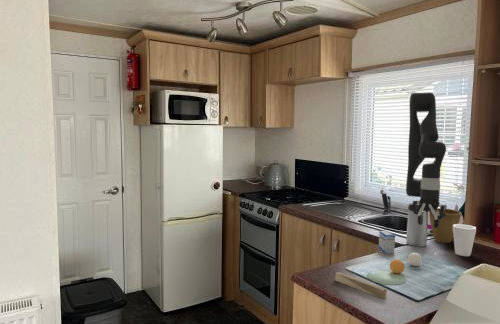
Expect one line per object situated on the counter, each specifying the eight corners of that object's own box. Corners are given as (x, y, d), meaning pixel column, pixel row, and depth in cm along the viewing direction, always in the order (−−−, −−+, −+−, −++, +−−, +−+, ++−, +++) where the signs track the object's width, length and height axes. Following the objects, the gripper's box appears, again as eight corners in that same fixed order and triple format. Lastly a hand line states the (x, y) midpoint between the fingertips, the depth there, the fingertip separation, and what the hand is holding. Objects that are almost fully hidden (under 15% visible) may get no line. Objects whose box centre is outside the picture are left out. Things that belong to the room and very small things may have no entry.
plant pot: (442, 246, 193) (443, 214, 191) (421, 238, 207) (422, 208, 206) (466, 244, 196) (468, 213, 195) (444, 236, 211) (446, 207, 209)
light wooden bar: (338, 279, 147) (339, 271, 147) (386, 297, 132) (386, 288, 132) (335, 280, 146) (335, 272, 146) (383, 298, 131) (383, 290, 130)
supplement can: (443, 235, 212) (444, 208, 211) (427, 234, 214) (428, 207, 212) (439, 232, 220) (440, 205, 219) (423, 231, 222) (424, 205, 220)
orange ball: (387, 270, 157) (387, 257, 157) (400, 270, 158) (400, 257, 157) (393, 275, 152) (393, 262, 151) (406, 275, 152) (407, 262, 152)
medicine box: (378, 248, 188) (379, 230, 187) (387, 248, 188) (387, 230, 187) (385, 253, 180) (386, 235, 179) (394, 253, 180) (395, 235, 180)
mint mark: (361, 271, 156) (361, 271, 156) (395, 271, 157) (395, 270, 157) (375, 285, 142) (375, 284, 142) (412, 284, 143) (412, 284, 143)
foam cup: (469, 258, 174) (471, 230, 173) (448, 253, 181) (449, 226, 180) (477, 254, 180) (479, 226, 179) (456, 249, 187) (457, 223, 186)
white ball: (405, 263, 166) (405, 251, 166) (417, 263, 167) (418, 250, 166) (411, 268, 161) (412, 255, 160) (424, 268, 161) (424, 255, 161)
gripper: (409, 186, 170) (408, 224, 172) (443, 190, 159) (440, 230, 161) (418, 185, 175) (416, 221, 177) (451, 189, 164) (449, 228, 166)
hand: (428, 226), depth 169 cm, fingers open, 6 cm apart
